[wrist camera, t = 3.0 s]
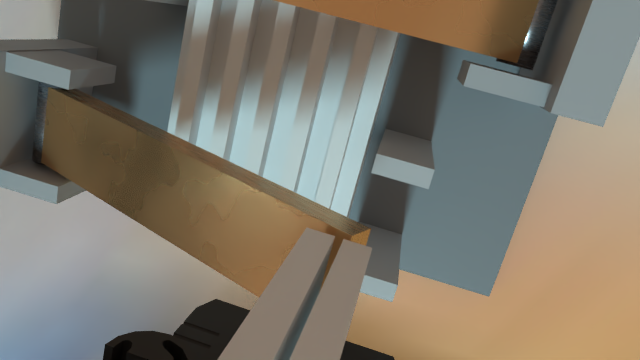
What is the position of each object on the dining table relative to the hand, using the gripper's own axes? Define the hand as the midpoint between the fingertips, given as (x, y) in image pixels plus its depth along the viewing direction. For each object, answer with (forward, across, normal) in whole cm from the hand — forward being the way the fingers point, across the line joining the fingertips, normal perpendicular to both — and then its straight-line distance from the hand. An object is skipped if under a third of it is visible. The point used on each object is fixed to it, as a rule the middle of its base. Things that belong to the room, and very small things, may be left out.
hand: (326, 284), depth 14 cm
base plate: (+11, -4, +4) cm, 13 cm away
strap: (+4, -6, 0) cm, 7 cm away
